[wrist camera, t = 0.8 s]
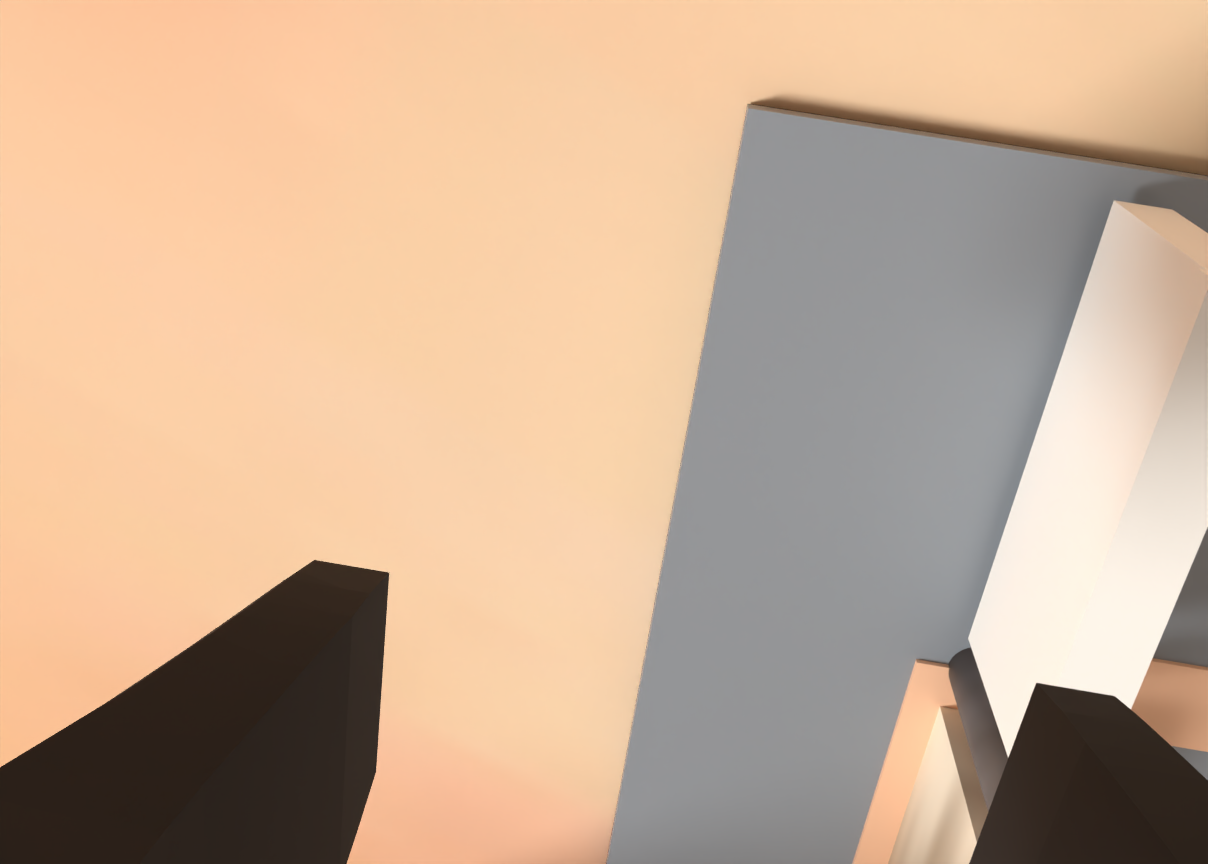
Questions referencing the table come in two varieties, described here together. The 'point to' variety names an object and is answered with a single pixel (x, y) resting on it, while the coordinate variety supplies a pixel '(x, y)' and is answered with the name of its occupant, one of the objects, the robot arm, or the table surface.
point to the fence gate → (1107, 478)
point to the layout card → (863, 481)
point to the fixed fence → (954, 776)
